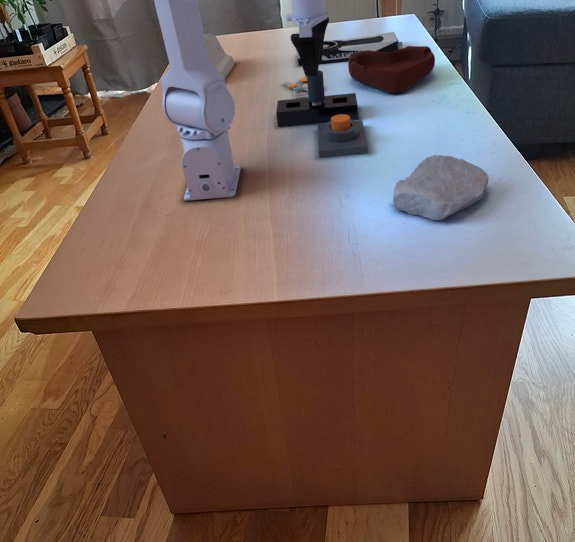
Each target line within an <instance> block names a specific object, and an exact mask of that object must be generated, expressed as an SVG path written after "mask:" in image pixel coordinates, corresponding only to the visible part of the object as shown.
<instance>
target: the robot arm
mask: <svg viewBox="0 0 575 542" xmlns="http://www.w3.org/2000/svg"><path fill="white" fill-rule="evenodd" d="M153 2H154V6H155V10H156V14H157V18H158V23H159V27H160V31H161V34H162V35H161V36H162V39H163V42H164V47H165V51H166V55H167V59H168V64H169V69H168V71H166V73H165V74H164V75H163V76H162V77H161V78H160V79H161V80H160V84H161V87H162V88H161V89H162V100H161V105H162V112H163V114H164V117H165V119H167V121H168V122H170V123H171V124H173V125H174V128H175V131H176V132H178V134H179V138H180V144H181V146H182V151H183V153H182V158H181V168H182V171H183V175H184V179H185V183H186V189H185V193H184V195H183V200H184V201H197V200H198V201H199V200H209V199H210V200H211V199H221V198H233V197H235V196H236V195H237V188H238V184H239V180H240V175H241V171H242V170H241V166H239V165H237V166H235V164H234V157H233V153H232V147H231V143H230V137H229V130H230V129H231V125H232V123H233V120H234V117H235V108H236V107H235V102H234V98H233V96H232V94H231V93H230V92H229V90H228V88H227V85H226V78H225V79H224V77H223V76H222V74H221V73H220V72H219V71H218V70H217V69H216V68H215V67H214V66H213V65H212V64H211V63H210V61H209V57H208V52H207V47H206V42H205V37H204V35H205V32H204V28H203V27H204V26H203V23H202V17H201V13H200V7H199V3H198V0H153ZM290 2H291V11H292V13H289V14H286V17H285V20H286V22H293V24H295V26H297V27H298V32H297V33H291V35H290V41H291V44H292V45H293V47H294V49H295V50H297V52H298V54H299V57H300V60H301V63H302V66H301V67H302V71H303V73H304V76H305V77H306V76H317V74H318V70H319V67H320V64H319V62H321V60H322V55H323V44H324V41H325V36H326V30H327V27H328V25H329V22H330V17H328V11H327V6H326V5H327V4H326V0H291V1H290ZM298 54H297V55H298Z"/></svg>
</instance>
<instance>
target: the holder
mask: <svg viewBox="0 0 575 542" xmlns="http://www.w3.org/2000/svg"><path fill="white" fill-rule="evenodd" d="M357 99H358V98H357V94H356V93H355V92H351V93H342V94H341V93H340V94H332V95H330V94H329V95H325V100H324V101H322V105H313V106H312V102H310V101H309V97H300V98H290V99H280V100H278V99H277V101H276V102H277V103H276V112H275V113H276V122H277V123H276V124H277V128H289V127H297V126H309V125H318V124H326V123H327V122H329V121H331V118H332V117H333V116H335V115H340V114H344V115H348V116H350V119H352V120H355V121H359V105H358V100H357Z"/></svg>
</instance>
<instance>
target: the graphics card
mask: <svg viewBox="0 0 575 542" xmlns="http://www.w3.org/2000/svg"><path fill="white" fill-rule="evenodd" d="M402 48H403V41H399V39H398V37H397V35H396V33H395V31H391V32H385V33H377V34H375V35H368V36H360V37H351V38H342V39H335V40H334V39H333V40H324V44H323V55H322V60H321V62H319V65H320V64H328V63H329V64H331V63H339V62H349V56H350V55H351V54H354V53H359V52H363V51H366V50H371V51H378V52H393V51H397V50H399V49H402ZM295 50H296V49H295ZM295 52H296V54H297V65H298V67H302V63H301V60H300V57H299V54H298V52H297V50H296V51H295Z"/></svg>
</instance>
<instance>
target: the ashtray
mask: <svg viewBox="0 0 575 542" xmlns="http://www.w3.org/2000/svg"><path fill="white" fill-rule="evenodd" d="M347 62H348V63H347V67H348V72H349V75H350V77H351V78H352V80H353V81H356V82H358V83H360V84H364V85H367V86H370V87H373V88H375V89H377V90H380V91H383V92H386V93H388V94H389V95H400V94H403V93H404V92H405V91H407V90H408V89H410V88H411V87H412V86H414V85H416V84H417V83H418V82H419V81H421V80H422V79H423V78H425V77H427V76H428V75H429V74H430V73H432V71H433V70H434V68H435V65H436V56H435V54H434V52H432V49H431V48H430V46H426V45H418V46H416V45H408V46H405V47H402V49H399V50H397V51H393V52H378V51H371V50H366V51H363V52H359V53H354V54H351V55H350V56H349V61H347Z"/></svg>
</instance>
